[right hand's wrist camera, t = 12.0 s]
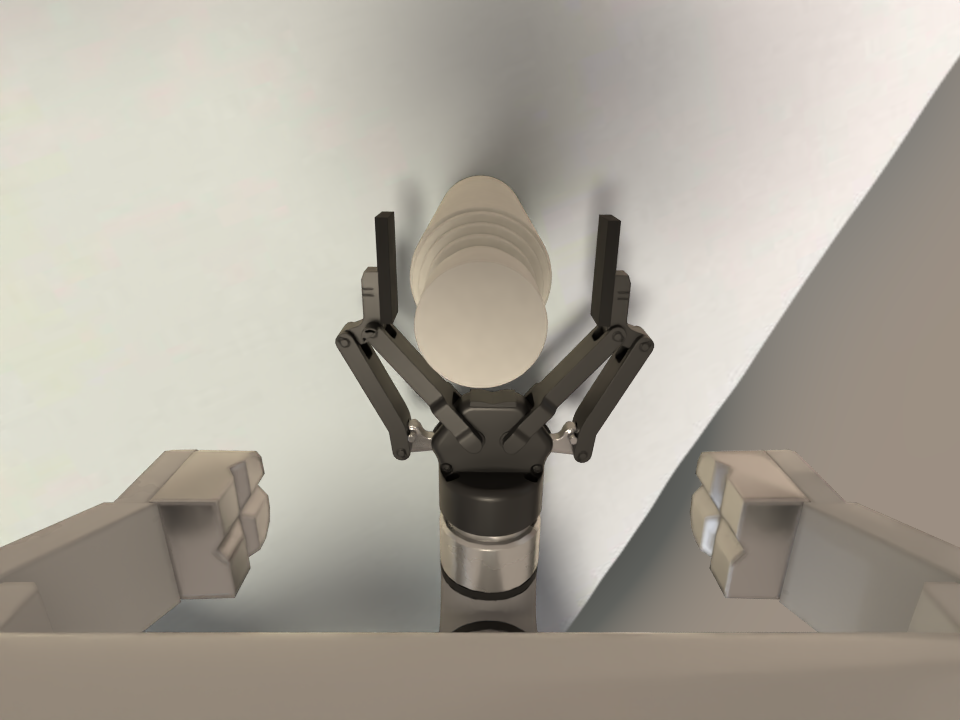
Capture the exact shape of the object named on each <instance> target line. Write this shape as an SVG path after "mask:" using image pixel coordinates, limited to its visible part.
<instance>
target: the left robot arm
mask: <svg viewBox="0 0 960 720" xmlns="http://www.w3.org/2000/svg"><path fill="white" fill-rule="evenodd" d="M620 226H621V221H620V220H619V219H617V218H616V217H614V216H612V215H599V224H598V235H597V246H596V258H595V269H594V281H593V292H592V303H591V316H592V317H593V319H594V321H595V322H596V324H597V326H596V327H595V328H594V329H593V330H592V331H591V332H590V333H589V334H588V335H587V336H586V337H585V338H584V339H583V340H582V341H581V342H580V343H579V344H578V345H577V346H576V347H575V348H574V349H573V350H572V351H571V352H570V353H569V354H568V355H567V356H566V357H565V358H564V359H563V360H562V361H561V362H560V363H559V364H558V365H557V366H556V367H555V368H554V369H553V370H552V371H551V372H550V373H549V374H548V375H547V376H546V377H545V378H544V379H543V380H542V381H541V382H540V383H536V384H535V385H534V386H533V387H532V388H531V389H530V390H529V391H528V392H527V393H526V394H525V395H524V396H523V395H521V394H519V393H515V390H511V389H504V390H499V391H495V392H491V391H487V390H483V389H471V390H470V392H468V393H465V394H463V395H461V394H460V393H459V392H458V391H457V390H456V389H455V388H454V387H453V386H452V385H451V384H450V383H449V382H447V381H445V380H444V379H443V378H442V377H441V376H440V375H439V374H438V373H437V372H436V371H435V370H434V369H433V368H432V367H431V366H430V365H429V364H428V363H427V361H426V360H425V359H424V358H423V356H422V355H421V354H420V353H419V352H418V351H417V350H416V349H415V348H414V347H413V346H412V345H411V343H410V342H409V341H408V340H407V339H406V338H405V337H404V336H403V335H402V334H401V333H400V332H399V330H398V329H397V328H396V327H395V326H394V325H393V322H394V319H395V317H396V315H397V313H398V296H397V271H396V246H395V221H394V212H381V213H380V214H378V215H377V216H376V217H375V231H376V250H377V267H368V268H367V269H366V270H365V271H364V273H363V276H362V279H361V284H362V300H363V319H362V320H359V321H357V322H349V323H347V324H346V325H345V326H344V327H343V329H342V330H341V332H340V333H339V335H338V336H337V338H336V341H335V343H336V346H337V348H338V349H339V351H340V353H341V354H342V356H343V357H344V359H345V361H346V362H347V364H348V366H349V367H350V369H351V371H352V372H353V374H354V376H355V377H356V379H357V380H358V382H359V384H360V385H361V387H362V389H363V390H364V392H365V394H366V395H367V397H368V398H369V400H370V402H371V403H372V405H373V407H374V408H375V410H376V412H377V413H378V415H379V416H380V418H381V420H382V421H383V423H384V425H385V426H386V428H387V430H388V431H389V435H390V440H391V446H392V451H393V455H394V457H395V458H396V459H398V460H406V459H407V458H409V456H410V453H411V452H418V451H430V450H433V452H434V453H435V454H436V456H437V458H438V462H439V506H440V510H441V512H440V519H439V521H440V558H441V611H440V627H439V632H537V625H536V608H535V607H536V573H537V564H538V558H539V541H540V524H541V517H540V512H541V507H542V492H543V476H544V464H545V461H546V459H547V457H548V455H549V454H550V453H551V452H556V453H565V454H573V455H574V458H575V460H576V461H577V462H580V463H585V462H587V461H588V460H589V459H590V458H591V455H592V451H593V447H594V442H595V438H596V434H597V433H598V431H599V430H600V428H601V427H602V425H603V424H604V422H605V421H606V420H607V418H608V417H609V415H610V414H611V412H612V411H613V409H614V408H615V406H616V405H617V403H618V402H619V400H620V399H621V397H622V396H623V394H624V393H625V391H626V390H627V388H628V387H629V385H630V384H631V382H632V381H633V379H634V378H635V376H636V375H637V373H638V372H639V370H640V369H641V367H642V366H643V364H644V363H645V361H646V360H647V358H648V357H649V355H650V354H651V352H652V351H653V348H654V343H653V341H652V340H651V338H650V337H649V336H648V335H647V334H646V332H645V331H644V330H643V329H642V328H641V327H639V326H633V325H630V324H628V323H627V314H628V305H629V296H630V287H631V282H630V279H629V276H628V275H627V274H626V273H625V272H624V271H623V270H616V265H617V255H618V246H619V236H620ZM371 345H372V346H373V347H374V348H375V349H376V350H377V351H378V353H379V354H380V355H381V356H382V357H383V358H384V359H385V360H386V361H387V362H388V363H389V364H390V365H391V366H392V367H393V368H394V369H395V370H396V371H397V373H398V374H399V375H400V376H401V377H402V378H403V379H404V380H405V381H406V382H407V383H408V384H409V385H410V386H411V387H412V388H413V389H414V390H415V391H416V393H417V394H418V395H419V396H420V397H421V398H422V399H423V400H424V401H425V402H426V403H427V404H428V405H429V407H430V409H431V411H432V413H433V414H434V415H435V417H436V418H437V419H438V420H439V421H440V422H439V423H438V424H437V426H436V427H435V428H434V430H433V432H429V431H426V430H424V428H423V427H422V425H421V423H420V422H419V421H418V420H416V419H413V420H411V416H410V413H409V410H408V408H407V406H406V404H405V402H404V400H403V399H402V397H401V395H400V393H399V392H398V390H397V388H396V387H395V385H394V383H393V382H392V380H391V378H390V376H389V375H388V373H387V371H386V370H385V368H384V366H383V364H382V363H381V361H380V359H379V358H378V356H377V354H376V353H375V351H374V349H373V347H372V346H371ZM611 355H612V356H611ZM610 356H611V357H610ZM609 357H610V359H609V360H608V362H607V363H606V365H605V366H604V368H603V370H602V371H601V373H600V374H599V376H598V377H597V379H596V380H595V382H594V384H593V385H592V387H591V388H590V390H589V391H588V393H587V394H586V396H585V398H584V399H583V401H582V402H581V404H580V405H579V407H578V409H577V411H576V413H575V415H574V418H573V421H572V422H571V421H568V422H566V423H565V425H564V426H563V427H562V429H561V430H560V431H559V432H558V433H554V434H552V433H551V432H550V430H549V428H548V427H547V426H546V424H545V423H546V422H547V421H549V420H550V419H551V418H552V416H553V415H554V414H555V412H556V409H557V408H558V406H559V405H561V404H562V403H563V402H564V401H565V400H566V399H567V398H568V397H569V396H570V395H571V394H572V393H573V392H574V391H575V390H576V389H577V388H578V387H579V386H580V385H581V384H582V383H583V382H584V381H585V380H586V379H587V378H588V377H589V376H590V375H591V374H592V373H593V372H594V371H595V370H596V369H597V368H598V367H599V366H600V365H601V364H602V363H603V362H604V361H606V360H607V359H608V358H609Z"/></svg>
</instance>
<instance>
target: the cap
mask: <svg viewBox="0 0 960 720" xmlns="http://www.w3.org/2000/svg"><path fill="white" fill-rule="evenodd" d="M547 326H548V321H547V313H546V309H545V305H544V303H543V300H542V297H541V294H540V292H539V289H538V286H537V284H536V282H535V280H534V278H533V276H532V274H531V273H530V272H529V270H528V269H527V268H526V267H525V266H524V265H523V264H522V263H521V262H520V261H519V260H517V259H516V258H515V257H513V256H511V255H509V254H507V253H505V252H502V251H500V250H496V249H492V248H471V249H466V250H462V251H459V252H457V253H455V254H452V255H451V256H449V257H447V258H446V259H444V260H443V261H442V262H441V263H439V264H438V266H437V267H436V268H435V269H434V270H433V271H432V273H431V274H430V275H429V277H428V279H427V281H426V283H425V286H424V288H423V291H422V294H421V297H420V299H419V302H418V305H417V308H416V312H415V319H414V330H415V337H416V341H417V344H418V347H419V349H420V351H421V353H422V355H423V357H424V358H425V360H426V361H427V363H428V364H429V365H430V366H431V367H432V368H433V369H434V370H435V371H436V372H437V373H438V374H440V375H441V376H443V377H444V378H446V379H447V380H449V381H451V382H453V383H456V384H459V385H462V386H466V387H472V388H489V387H496V386H499V385H503V384H506V383H508V382H510V381H512V380H514V379H516V378H518V377H519V376H521V375H522V374H523V373H525V372H526V371H527V370H528V369H529V368H530V367H531V366H532V365H533V363H534V362H535V361H536V360H537V358H538V356H539V355H540V353H541V351H542V349H543V347H544V343H545V340H546V336H547Z"/></svg>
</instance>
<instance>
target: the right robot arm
mask: <svg viewBox="0 0 960 720" xmlns="http://www.w3.org/2000/svg"><path fill="white" fill-rule="evenodd" d="M264 474H265V473H264V468H263V463H262V458H261V456H260V455H259V454H258V452H257V451H226V450H196V449H195V450H169V451H165V452H164V453H163V454H162V455H161V456H160V457H159V458H157V459H156V460H155V461H154V462H153V463H152V464H151V465H150V466H149V467H148V468H147V469H146V470H145V471H144V472H143V473H142V474H141V475H140V476H139V477H138V478H137V479H136V480H135V481H134V482H133V483H132V484H131V485H130V486H129V487H128V488H127V489H126V490H125V491H124V492H123V493H122V494H121V495H120V496H119V497H118V498H117V499H116V500H115V501H114V502H109V503H101V504H99V505H97V506H95V507H92V508H90V509H88V510H85V511H83V512H81V513H79V514H76V515H74V516H72V517H69V518H67V519H65V520H62V521H60V522H58V523H56V524H53V525H51V526H49V527H46V528H44V529H42V530H40V531H37V532H35V533H33V534H30V535H28V536H26V537H23V538H21V539H19V540H17V541H14V542H12V543H10V544H7V545H5V546H3V547H0V720H960V548H959V547H957V546H955V545H952V544H950V543H948V542H945V541H943V540H941V539H939V538H936V537H934V536H932V535H929V534H927V533H925V532H923V531H920V530H918V529H916V528H913V527H911V526H909V525H907V524H904V523H902V522H900V521H897V520H895V519H893V518H891V517H888V516H886V515H884V514H881V513H879V512H877V511H875V510H872V509H870V508H868V507H865V506H863V505H861V504H858V503H850V502H846V501H845V500H844V499H843V498H842V497H841V496H840V495H839V494H838V493H837V492H836V491H835V490H834V489H833V488H832V487H831V486H830V485H829V484H828V483H827V482H826V481H825V480H824V479H823V478H822V477H821V476H820V475H819V474H818V473H817V472H816V471H815V470H814V469H813V468H812V467H811V466H810V465H809V464H808V463H807V462H806V461H805V460H804V459H803V458H802V457H801V456H800V455H799V454H798V453H797V452H795V451H792V450H789V449H785V450H751V451H710V452H702V453H701V454H700V457H699V459H698V462H697V467H696V475H697V477H698V478H699V480H700V482H701V483H702V485H701V486H700V488H699V489H698V490H697V491H696V492H695V493H694V494H693V495H692V499H691V507H690V519H691V529H692V532H693V536H694V539H695V541H696V543H697V545H698V547H699V549H700V550H701V551H703V552H704V553H706V554H707V555H709V556H710V557H711V563H710V570H711V572H712V574H713V575H714V577H715V579H716V581H717V583H718V585H719V587H720V589H721V590H722V592H723V594H724V596H725V598H747V599H780V600H779V602H780V603H781V604H783V605H784V606H785V607H787V608H788V609H789V610H790V611H792V612H793V613H794V614H795V615H797V616H798V617H799V618H801V619H802V620H803V621H804V622H806V623H807V624H808V625H809V626H811V627H812V628H813V629H815V630H816V631H817V632H143V631H144V630H146V629H147V628H148V627H149V626H151V625H152V624H153V623H155V622H156V621H157V620H158V619H160V618H161V617H162V616H164V615H165V614H166V613H167V612H169V611H170V610H171V609H172V608H174V607H175V606H176V605H178V604H179V603H180V602H181V601H180V599H212V598H235V596H236V594H237V592H238V590H239V589H240V587H241V585H242V583H243V581H244V579H245V577H246V575H247V574H248V572H249V570H250V563H249V557H250V556H251V555H253V554H254V553H256V552H257V551H259V550H260V549H261V547H262V545H263V543H264V541H265V539H266V536H267V531H268V527H269V522H270V505H269V498H268V495H267V494H266V493H265V492H264V491H263V490H262V489H261V488H260V486H259V485H258V483H259V482H260V480H261V478H262V477H263V475H264Z"/></svg>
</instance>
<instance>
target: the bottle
mask: <svg viewBox="0 0 960 720" xmlns="http://www.w3.org/2000/svg"><path fill="white" fill-rule="evenodd" d="M471 248H492V249H496V250H500V251H502V252H505V253H507V254H509V255H511V256H513V257H515V258H516V259H517V260H519V261H520V262H521V263H522V264H523V265H524V266H525V267H526V268H527V269H528V270H529V272H530V273H531V274H532V276H533V278H534V280H535V282H536V284H537V286H538V289H539V292H540V294H541V297H542V300H543V303H544V305H545V304H546V302H547V299H548V296H549V293H550V288H551V277H552V273H551V264H550V260H549V256H548V253H547V251H546V248H545V246H544V244H543V242H542V240H541V239H540V237H539V235H538V233H537V232H536V230H535V228H534V226H533V225H532V223H531V221H530V219H529V217H528V216H527V214H526V212H525V210H524V209H523V207H522V205H521V203H520V202H519V200H518V198H517V196H516V195H515V193H514V192H513V190H512V189H511V188H510V187H509V186H507V185H506V184H505V183H504V182H502V181H500V180H498V179H496V178H493V177H489V176H471V177H468V178H465V179H463V180H461V181H459V182H458V183H456V184H455V185H454V186H453V187H451V189H450V190H449V191H448V192H447V193H446V195H445V196H444V198H443V200H442V202H441V204H440V205H439V207H438V209H437V211H436V213H435V214H434V216H433V218H432V220H431V221H430V223H429V225H428V227H427V229H426V230H425V232H424V234H423V236H422V238H421V239H420V241H419V243H418V245H417V247H416V249H415V252H414V255H413V257H412V262H411V267H410V285H411V290H412V295H413V298H414V301H415V303H416V305H418V302H419V299H420V297H421V294H422V291H423V288H424V286H425V283H426V281H427V279H428V277H429V275H430V274H431V273H432V271H433V270H434V269H435V268H436V267H437V266H438V264H439V263H441V262H442V261H443V260H444V259H446V258H447V257H449V256H451V255H452V254H455V253H457V252H459V251H462V250H466V249H471Z"/></svg>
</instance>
